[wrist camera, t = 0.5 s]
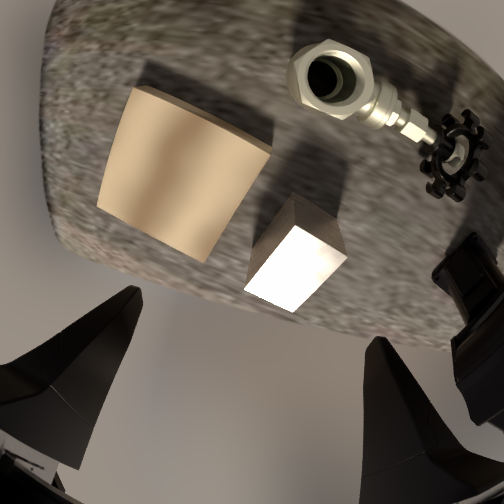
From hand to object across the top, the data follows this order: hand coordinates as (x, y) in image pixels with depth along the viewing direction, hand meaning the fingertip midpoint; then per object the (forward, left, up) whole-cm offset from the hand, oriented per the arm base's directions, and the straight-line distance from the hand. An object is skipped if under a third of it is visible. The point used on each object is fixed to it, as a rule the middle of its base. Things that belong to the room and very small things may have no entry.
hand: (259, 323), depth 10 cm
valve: (-2, -9, -13) cm, 16 cm away
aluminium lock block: (-3, +3, -12) cm, 13 cm away
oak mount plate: (+7, +3, -12) cm, 14 cm away
